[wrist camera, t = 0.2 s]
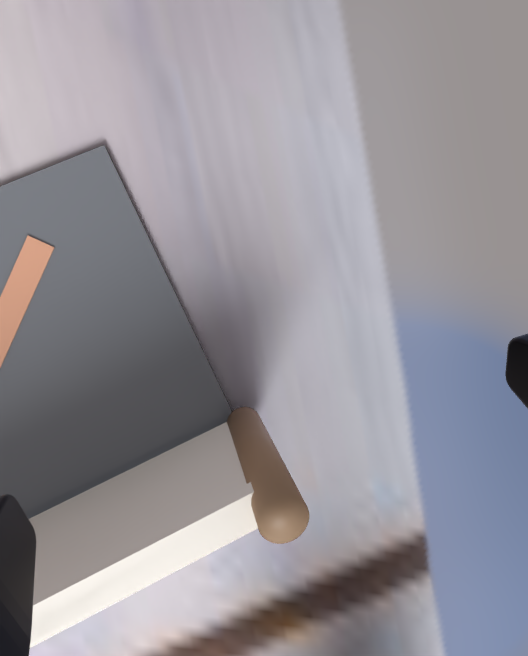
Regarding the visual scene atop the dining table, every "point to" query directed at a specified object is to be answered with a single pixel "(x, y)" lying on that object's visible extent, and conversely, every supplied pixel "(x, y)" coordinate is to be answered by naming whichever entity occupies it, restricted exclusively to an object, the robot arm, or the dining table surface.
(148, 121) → the dining table surface
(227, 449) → the white fence panel
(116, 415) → the card
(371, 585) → the dining table surface
